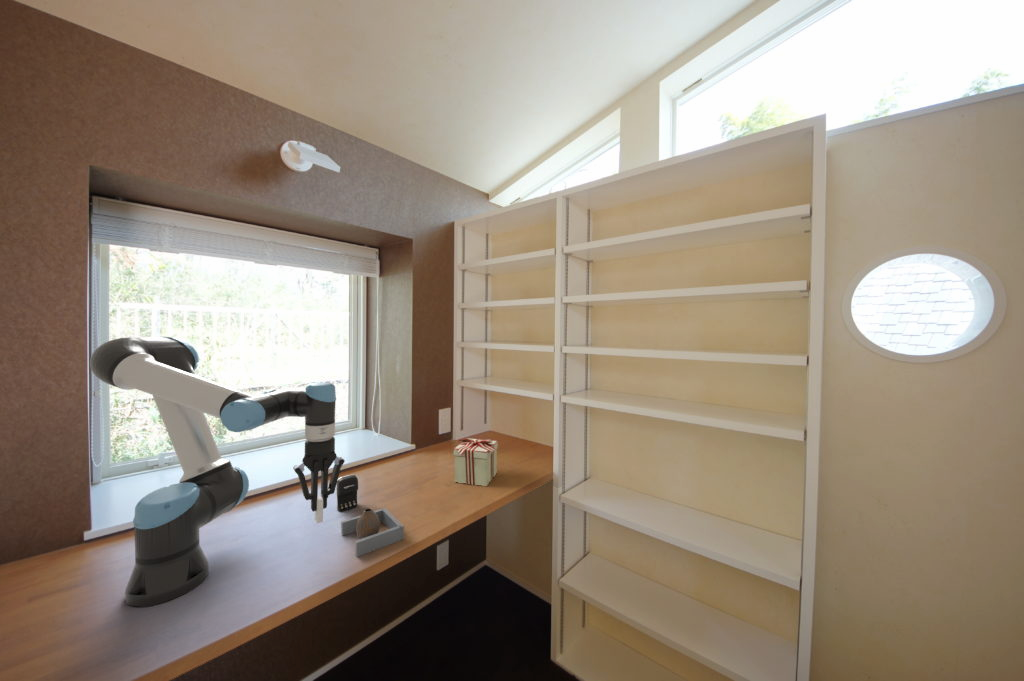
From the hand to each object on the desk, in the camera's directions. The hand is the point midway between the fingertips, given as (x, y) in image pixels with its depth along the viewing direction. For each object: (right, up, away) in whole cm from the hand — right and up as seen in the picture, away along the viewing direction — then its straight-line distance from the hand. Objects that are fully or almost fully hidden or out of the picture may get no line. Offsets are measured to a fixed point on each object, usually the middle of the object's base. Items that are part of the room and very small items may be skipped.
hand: (318, 520), depth 103 cm
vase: (+11, -10, +9) cm, 17 cm away
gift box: (+40, -9, +53) cm, 67 cm away
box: (+11, -10, +9) cm, 17 cm away
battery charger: (-4, -10, +28) cm, 29 cm away
